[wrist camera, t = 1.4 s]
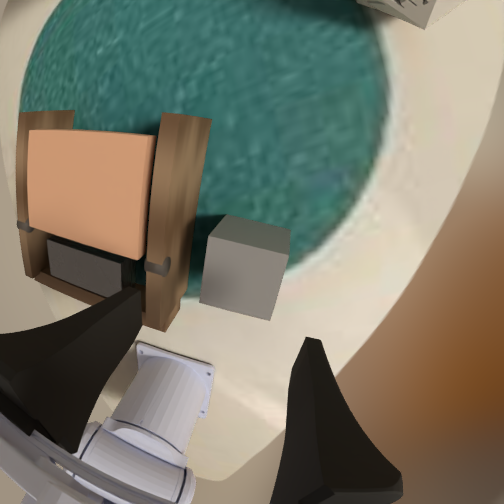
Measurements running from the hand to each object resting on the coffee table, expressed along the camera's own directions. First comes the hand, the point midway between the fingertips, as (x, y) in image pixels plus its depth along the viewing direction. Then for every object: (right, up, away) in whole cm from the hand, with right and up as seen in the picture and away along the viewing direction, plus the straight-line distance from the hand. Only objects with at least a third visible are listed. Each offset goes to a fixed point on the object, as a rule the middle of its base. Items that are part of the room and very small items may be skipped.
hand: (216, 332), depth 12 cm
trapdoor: (-9, +6, +6) cm, 13 cm away
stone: (+1, +3, +9) cm, 10 cm away
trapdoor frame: (-9, +7, +9) cm, 15 cm away
